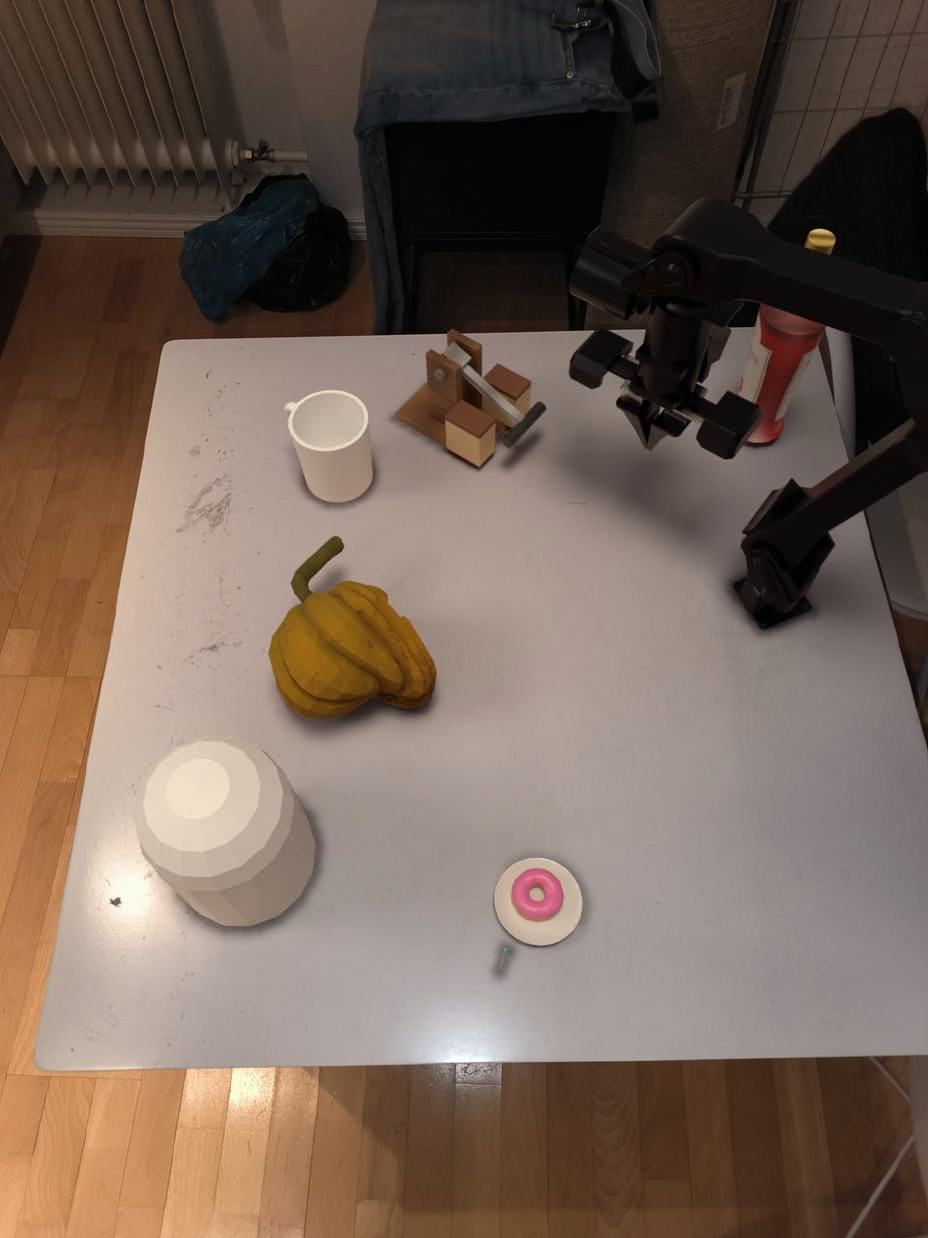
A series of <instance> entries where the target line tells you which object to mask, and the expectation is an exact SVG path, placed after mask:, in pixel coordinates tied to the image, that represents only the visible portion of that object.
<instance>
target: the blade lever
mask: <svg viewBox="0 0 928 1238" xmlns="http://www.w3.org/2000/svg"><path fill="white" fill-rule="evenodd" d="M440 354H441V355H443V356H445V357H447V358H448V359H450V360H452V361H454V362H456V363H458V364H459V365H461V376H462V377H464V378H465V379H466V380H467V381H468V382H469V383H470V384H471V385H472V386H473V387H475V388H476V389H477V390H478V391H479V392H480V393H481V394H482V395H483V396H484V397H485V398H487V399H488V400H489V401H490V402H491V403H492V404H493V405H494V406H495V407H496V408H498V409H499V410H500V411H501V412H502V413H503V414H504V415H505V416H506V417H507V418H509V419H510V420H511V421H512V422H513V423H514V424H515V426H514V427H513V428H511V429H510V430H509V431H508V432H507V433H506V434H505V436H503V438H502V439H501V442H502V444H503V446H504V447H506V448H507V449H512V448H513V447H514V446H515V445H516V444H517V442H519V441H520V439H521V438H522V437H523V436H524V435H525V434H526V433H527V432H528V431H529V429H531V427H532V426H533V425H534V424H535V423H536V422H537V421H538V420H539V419H540V418H541V416H542V415H543V414H545V412H547V406H546V404H545V403H544V402H542V401H537V402H536V403H535V404H534V405H532V407H530V408H529V411H528V412H527V413H526V414H525V415H523V414H521V413H520V412H519V411H518V410H517V409H516V408H515V407H514V406H513V405H512V404H511V403H509V402H508V401H507V400H506V399H505V398H504V397H503V396H502V395H501V394H500V393H498V392H497V391H496V390H495V389H494V388H493V387H492V386H491V385H490V384H489V383H488V382H486V381H485V380H484V379H483V376H482V377H481V376H480V375H479V374H478V373H477V372H475V371H474V370H473V369H472V368H471V367H470V366H469V365H468V364H469V362H470V360H471V357H470V356H469V355H468V354H467V353H466V352H465V351H464V350H462V349H461V348H460V347H459V346H458V345H457V344H456V343H455V342H453V343H452V344H451V345H450V346H449V347H448V348H445V349H444V350H443V351H442V352H441V353H440Z"/></svg>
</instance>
